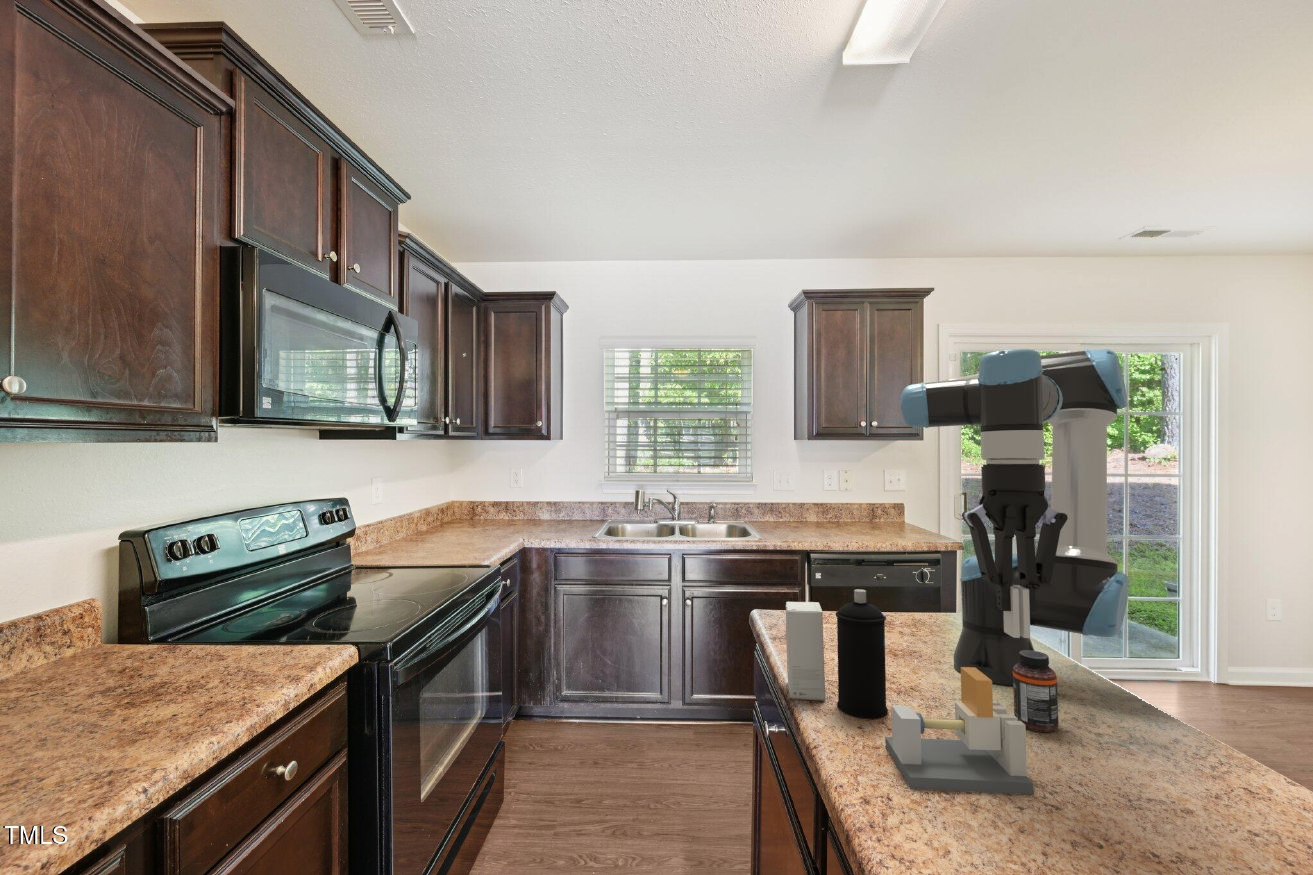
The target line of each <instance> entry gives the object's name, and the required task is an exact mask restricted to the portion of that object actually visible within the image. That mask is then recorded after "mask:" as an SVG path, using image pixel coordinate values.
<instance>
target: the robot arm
mask: <svg viewBox="0 0 1313 875" xmlns="http://www.w3.org/2000/svg"><path fill="white" fill-rule="evenodd" d="M1121 366H1122V365H1121V362H1120V360H1119V358H1118V355H1117V354H1116V352H1115V351H1113V350H1112V349H1111V350H1110V349H1090V350H1089V349H1084V350H1081V351H1071V352H1070V351H1069V352H1062V353H1055V354H1054V353H1053V354H1045V355H1041V354H1040V352H1039V351H1037V350H1034V349H1029V348H1015V349H1014V348H1013V349H1012V348H1011V349H1003V350H998V351H992V352H988V353H986V354H984V355H983V356H982V357H980V360H979V366H978V372H976V373H975V374H970V375H966V376H961V377H955V378H950V379H945V380H940V381H931V382H924V381H923V382H920V383H914V384H910V385H907V386H906V387H904V389H903V391H902V392H901V396H900V412H901V416H902V419H903V421H904V422H905V424H906V425H907V426H909V427H910V428H925V429H928V428H938V427H939V428H940V427H942V428H943V427H955V426H957V427H958V426H959V427H960V426H980V456H981V457H980V458H981V459H982V461H985V464H982V466H981V467H980V468H981V470H980V471H981V472H980V473H981V490H982V495H981V498H980V500H979V502H978V503H979V505H978V506H976V507H975V508H973V509H971V510H970V511H968V510H965V511H963V512H962V514H961V517H962V519H963V521H964V522H965V523H966V525H967V526H968V529H969V531H970V537H971V540H972V544H973V548H974V552H975V555H973V556H969V557H967V558H965V559H964V560H963V561H962V562H961V575H960V576H961V577H960V579H959V581H960V582H961V583H960V585H961V586H960V587H961V588H960V589H961V590H960V591H961V592H960V593H961V616H962V618H961V619H962V625H961V626H962V628H961V632H960V635H959V638H958V641H957V644H956V646H955V649H954V653H953V667H954V669H955V670H956V671H957V672H959V673H961V667H975V668H977V669H978V670H979V671H980V672H982V673H983V674H984V675H986V676H987V677H988V678H989V679H991V680H992V684H998V685H1006V686H1013V667H1014V665H1015V664H1017V663H1018V662H1019V661H1020V660H1019V652H1020V651H1022V650H1032V651H1036V650H1035V648H1034V645H1033V643H1032V640H1031V626H1035V627H1040V628H1045V629H1050V630H1057V631H1062V632H1068V633H1074V634H1080V635H1082V636H1085V637H1086V636H1095V637H1103V638H1112V637H1115V636H1116V635H1117V634H1118V633H1119V632H1120V630H1121V628H1122V626H1123V623H1124V619H1125V615H1126V610H1127V605H1128V604H1127V603H1128V596H1129V583H1130V582H1129V576H1128V575H1127V574H1126V573H1123V572H1122V571H1118V562H1117V561H1116V559H1114V558H1113V557H1112V556H1111V555H1110V554H1109V553H1108V522H1107V521H1108V482H1107V481H1108V476H1107V475H1108V474H1107V473H1108V465H1107V464H1108V456H1107V455H1108V453H1107V452H1108V432H1107V431H1108V426H1110V425H1111V424H1112V423H1113V422H1114V421H1116V420H1117V418H1118V409H1119V410H1122V409H1123V408H1126V407H1128V395H1127V390H1126V385H1125V379H1124V376H1123V370H1122V367H1121ZM1046 422H1047V423H1048V424H1049V425H1050V426H1051V427H1052V444H1051V446H1052V447H1051V449H1052V450H1051V451H1052V453H1051V454H1052V457H1051V503H1050V504H1051V505H1050V507H1049V501H1048V500H1047V499H1046V496H1045V491H1046V466H1044V464H1042V463H1041V464H1040V460H1041V461H1043V460H1044V459H1045V457H1046V456H1045V433H1044V423H1046ZM985 516H986V517H987V519H988V520H989V521H990V523H991V525H992V532H993V535H994V553H993V549H992V546H991V543H990V538H989V535H988V534H989V533H988V531H987V527H986V526H985V524H984V523H986V517H985ZM1040 520H1042V522H1043V523H1042V525H1041V528H1040V532H1039V537H1038V543H1037V547H1036V543H1035V542H1036V541H1035V538H1037V528H1036V526H1037V524H1038V523H1039V521H1040ZM1014 537H1015V543H1016V553H1013V542H1014V541H1013V539H1014Z"/></svg>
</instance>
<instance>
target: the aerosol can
mask: <svg viewBox="0 0 1313 875" xmlns="http://www.w3.org/2000/svg"><path fill="white" fill-rule="evenodd" d="M853 599H854V600H853V601H851V602H849V603H846V604H844V605H842V607H840V608H839V609H838V610H837V611H836V612H835V617H836V625H837V626H836V628H837V629H836V630H837V631H836V632H837V633H836V634H837V642H836V643H837V692H838V693H837V694H838V697H837V698H838V701H837V703H836V706H837V708H838V710H839V711H840V712H842V713H844V714H846V715H848V716H851V717H854V718H859V719H867V720H872V719H873V720H875V719H881V718H884V717H885V716H886V715H887V714H889V713H888V712H889V710H888V707H887V681H886V680H887V679H886V676H887V675H886V671H887V670H886V634H885V633H886V630H885V628H886V627H885V626H886V625H885V623H886V622H885V621H886V620H887V617H886V615H885V614H884V613H883V612H882V610H880V609H879V608H878V607H876V606H875V605H873V604H869V603H868V602H867V590H865V589H860V588H858V589H857V588H856V589H854V590H853Z"/></svg>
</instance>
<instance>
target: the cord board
mask: <svg viewBox="0 0 1313 875" xmlns="http://www.w3.org/2000/svg"><path fill="white" fill-rule="evenodd" d="M890 709H891V710H890V711H891V736H885V737H884V740H885V748H886V751H887V752H888V754H889V755H890V757H891V759H892V761H893V763H895V766H896V768H898V770H899V772H900V774H901V775H902V777H903V779H904V780H905V782H906V784H907V785H908V787H909V788H910V789H911V790H921V791H922V790H925V791H942V792H943V791H945V792H962V793H963V792H966V793H983V794H984V793H989V794H1005V795H1006V794H1007V795H1011V794H1012V795H1026V796H1027V795H1029V796H1031V795H1032V796H1034V781H1032V780H1031V779H1030V778H1029V777H1028V768H1027V767H1028V766H1027V763H1028V761H1027V738H1026V737H1027V735H1026V734H1027V731H1026V730H1027V728H1026V725H1025V724H1024V723H1022V722H1021V721H1018V719H1017V717H1015V715H1014V713H1013V714H1012V713H1009V714H1008V709H1007V708H1006V707H1005V706H1003V705H1001V702H999V701H998V700H996V699H993V711H994V712H995V713H996V714H997V715H999V716H1000V736H1001V751H1000V750H976V749H969V748H968V747H967V746H966V745H965V744H964V743H963V742H962V740H961V739H948V738H947V739H944V738H924V737H923V738H922V735H924V733H925V729H929V730H930V729H932V730H933V729H935V730H955V731H956V730H965V720H955V719H940V718H939V719H938V718H924V717H923V715H922V714H921V713H920V712H916V711H914V709H913V708H912V707H911V705H904V704H903V705H902V704H891V706H890Z"/></svg>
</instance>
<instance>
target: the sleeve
mask: <svg viewBox="0 0 1313 875" xmlns="http://www.w3.org/2000/svg"><path fill="white" fill-rule="evenodd" d="M960 691H961V692H960V696H961V699H960V701H961V702H960V701H959V702H957V701H955V702H954V713H955V714H954V720H965V730H955V735H956V736H957V737H958V739H959V740H962V742H963V743H964V744H965V745H966V746H967V747H968V748H969V749H976V750H1000V751H1001V736H1000V716H999V715H997V714H996V713H995V712H994V711H993V700H994V699H993V698H994V697H993V683H992V680H991V679H989V678H988V677H987V676H986V675H984V674H983V673H982V672H980V671H979V670H978V669H977V668H975V667H961V672H960Z"/></svg>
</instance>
